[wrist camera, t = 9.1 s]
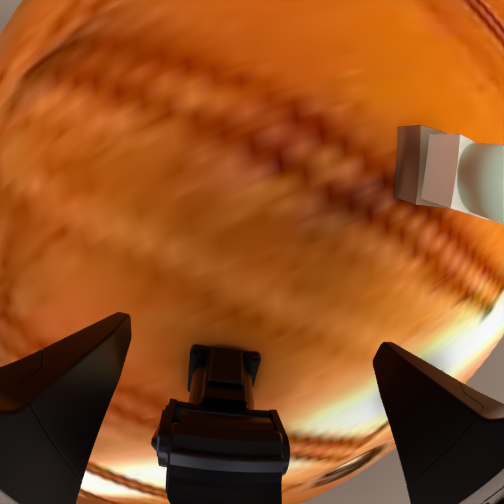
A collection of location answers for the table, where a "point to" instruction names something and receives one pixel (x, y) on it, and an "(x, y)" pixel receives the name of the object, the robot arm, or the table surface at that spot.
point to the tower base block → (412, 163)
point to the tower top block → (444, 170)
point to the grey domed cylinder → (482, 180)
